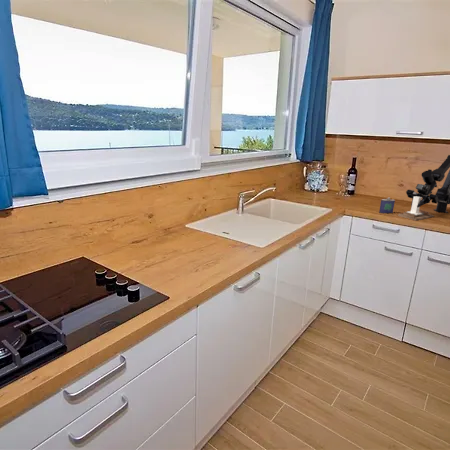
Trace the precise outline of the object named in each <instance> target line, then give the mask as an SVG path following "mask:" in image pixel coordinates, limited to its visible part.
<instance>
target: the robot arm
mask: <svg viewBox="0 0 450 450" xmlns="http://www.w3.org/2000/svg"><path fill="white" fill-rule="evenodd" d="M447 171H448V173H447ZM446 173H447V175H446V177H445V174H446ZM421 177H422V180H423V182H424V184H421V183H417V184H416V187H415V189H416V191H415V190H414V189H407V190H406V191H405V193H406V196H407V198H410V199H411V204H410V205H411V207H412V202H413V198H414V196H418V197H422V198H421V201H420V203H419V204H418V206H417V207H421V206H424V205H427V204H430V203H432V204H436V207H435V208H433V211H435V212H437V213H447V214H449V212H448V211H447V208H448V205H450V154H448V155H447V157H446V159H444V161H443V162H442V163H441V165H439V166H438V168H436V169H433V170H432V169H427V170H425V171H423V172H421ZM444 178H445V180H444ZM442 181H444V182H443V184H442V187H440V188H437V187H438V184H437V183H438V182H442ZM434 188H437V190H436V192H435V194H433V190H434Z"/></svg>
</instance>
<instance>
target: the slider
mask: <svg viewBox="0 0 450 450" xmlns="http://www.w3.org/2000/svg"><path fill="white" fill-rule="evenodd" d="M412 199H413V202H412V201H411V204H412V206H411V208H410V210H409V211H408V210H407V211H406V212H407V213H411V214H415V215H421V214H422V213H420V212H419V210H420V207H421V206H420V207H417V206H418V204H419V203H420V201H421V200H422V197H418V196H414V198H412Z"/></svg>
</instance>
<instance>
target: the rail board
mask: <svg viewBox="0 0 450 450" xmlns="http://www.w3.org/2000/svg"><path fill="white" fill-rule="evenodd" d="M407 212H408V211H403V213H398V214H397V216H398V217H399V218H405V219H408V218H409V219H408V220H411V219H412V221H421V220H425V219H426V220H427V219H430V218H434V217H435V215H433V214H430V211H428V210H427V211H426V210H423V209H419V212H420V213H422V214H421V215H415V214H411V213H407Z"/></svg>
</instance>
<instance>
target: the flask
mask: <svg viewBox="0 0 450 450" xmlns="http://www.w3.org/2000/svg"><path fill="white" fill-rule="evenodd" d="M395 203H396V200H395V199H391V197H390V196H389V197H387V198H383V199H380V206H379V211H378V213H379V214H385V215H386V214H393V213H394V207H395Z"/></svg>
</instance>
